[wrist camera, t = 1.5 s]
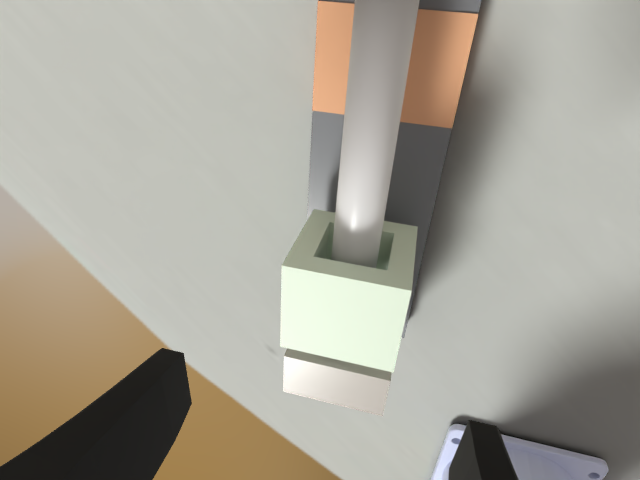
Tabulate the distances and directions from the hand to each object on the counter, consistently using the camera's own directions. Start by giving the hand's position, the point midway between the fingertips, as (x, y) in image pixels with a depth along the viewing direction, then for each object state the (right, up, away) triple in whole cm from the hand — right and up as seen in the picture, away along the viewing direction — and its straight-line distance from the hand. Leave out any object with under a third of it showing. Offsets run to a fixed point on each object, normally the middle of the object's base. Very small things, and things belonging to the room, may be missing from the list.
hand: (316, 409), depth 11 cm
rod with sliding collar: (+2, +7, +6) cm, 10 cm away
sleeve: (+2, +4, +6) cm, 8 cm away
